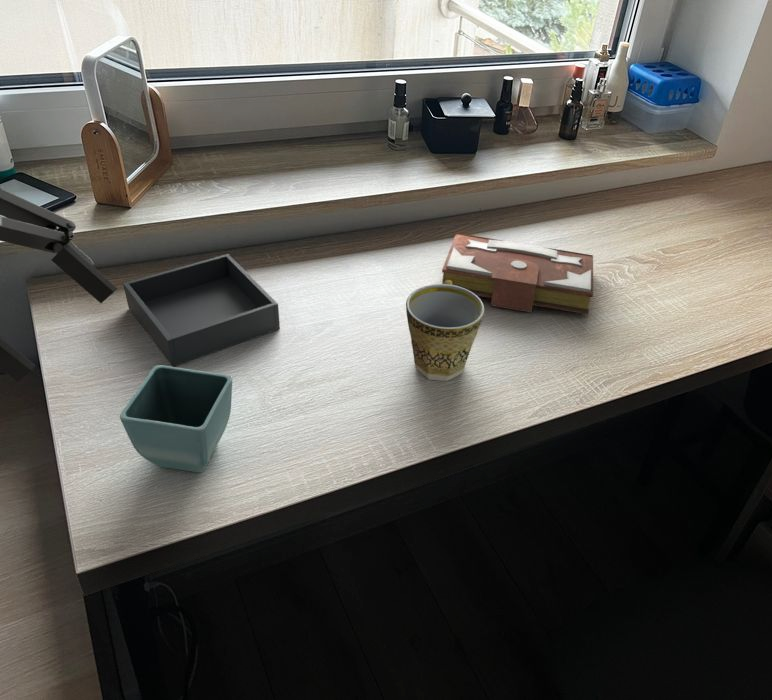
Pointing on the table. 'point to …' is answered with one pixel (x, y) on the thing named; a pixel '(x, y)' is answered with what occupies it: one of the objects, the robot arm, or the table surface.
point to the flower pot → (178, 416)
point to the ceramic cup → (442, 328)
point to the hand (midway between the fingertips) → (71, 332)
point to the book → (520, 274)
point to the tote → (201, 308)
